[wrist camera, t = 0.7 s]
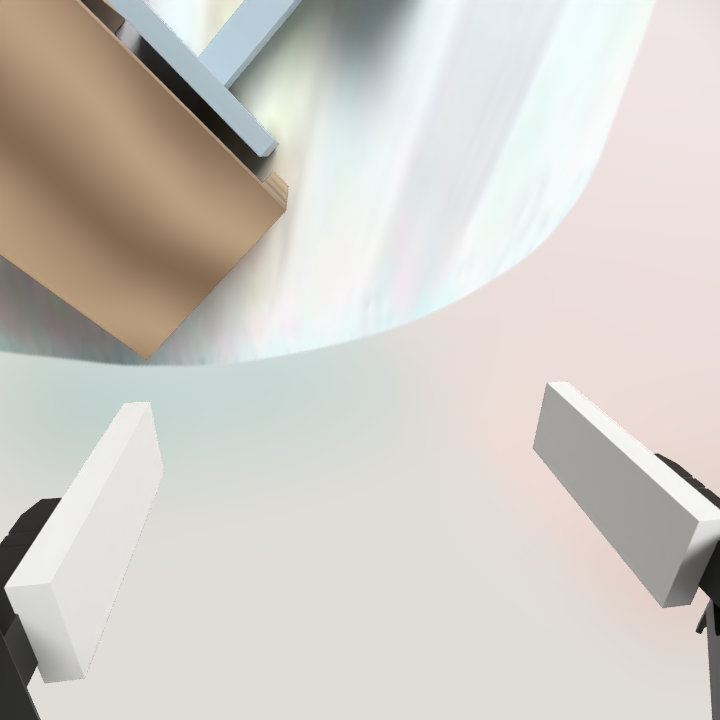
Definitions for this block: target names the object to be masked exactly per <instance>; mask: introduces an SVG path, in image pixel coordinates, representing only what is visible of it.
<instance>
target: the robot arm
mask: <svg viewBox="0 0 720 720" xmlns="http://www.w3.org/2000/svg"><path fill="white" fill-rule="evenodd" d="M533 449H534V450H535V451H536V453H537V454H538V455H539V456H540V458H541V459H542V460H543V461H544V463H545V464H546V465H547V466H548V468H549V469H550V470H551V471H552V473H553V474H554V475H555V476H556V477H557V479H558V480H559V481H560V482H561V484H562V485H563V486H564V487H565V488H566V490H567V491H568V492H569V493H570V495H571V496H572V497H573V498H574V500H575V501H576V502H577V503H578V505H579V506H580V507H581V508H582V510H583V511H584V512H585V513H586V514H587V516H588V517H589V518H590V519H591V521H592V522H593V523H594V524H595V525H596V527H597V528H598V529H599V531H600V532H601V533H602V534H603V535H604V537H605V538H606V539H607V540H608V542H609V543H610V544H611V545H612V547H613V548H614V549H615V550H616V551H617V553H618V554H619V555H620V556H621V558H622V559H623V560H624V561H625V562H626V564H627V565H628V566H629V567H630V569H631V570H632V571H633V572H634V574H635V575H636V576H637V577H638V579H639V580H640V581H641V582H642V584H643V585H644V586H645V587H646V589H647V590H648V591H649V592H650V593H651V595H652V596H653V597H654V598H655V600H656V601H657V602H658V603H659V605H660V606H661V607H662V608H666V607H675V606H682V605H690V604H691V602H692V600H693V598H694V595H695V594H696V592H697V589H698V587H700V588H701V589H702V590H703V591H704V592H705V593H706V594H707V595H708V596H709V597H710V598H711V599H710V601H709V603H708V605H707V607H706V609H705V611H704V613H703V615H702V617H701V619H700V621H699V623H698V626H697V629H696V632H697V633H700V634H701V633H702V631H703V629H704V628H705V627H707V634H708V635H707V636H708V652H709V670H710V687H711V703H712V720H720V498H719V497H718V496H716V495H715V494H714V493H713V492H712V491H710V490H709V489H705V486H704V485H703V484H702V483H700V482H699V481H698V480H697V479H693V477H692V475H690V474H689V473H688V472H687V471H686V470H684V469H683V468H682V467H681V466H680V465H678V464H677V463H675V462H673V461H671V460H669V459H667V458H666V457H663V456H662V455H660V454H653V453H652V452H651V451H649V450H648V449H647V448H646V447H645V446H643V445H642V444H641V443H640V442H639V441H637V440H636V439H635V438H634V437H633V436H631V435H630V434H629V433H628V432H627V431H626V430H624V429H623V428H622V427H621V426H620V425H618V424H617V423H616V422H615V421H613V420H612V419H611V418H610V417H609V416H608V415H606V414H605V413H604V412H603V411H602V410H601V409H599V408H598V407H597V406H595V404H593V403H592V402H591V401H590V400H589V399H587V398H586V397H585V396H584V395H583V394H582V393H580V392H579V391H578V390H577V389H576V388H574V387H573V386H572V385H571V384H570V383H568V382H548V383H547V384H546V388H545V393H544V398H543V403H542V407H541V412H540V417H539V422H538V426H537V431H536V436H535V440H534V445H533ZM163 475H164V470H163V465H162V460H161V454H160V449H159V444H158V439H157V433H156V428H155V423H154V418H153V413H152V407H151V402H150V401H149V402H128V403H124V404H123V405H122V407H121V408H120V410H119V411H118V413H117V415H116V416H115V418H114V419H113V421H112V422H111V424H110V425H109V427H108V429H107V430H106V431H105V433H104V435H103V436H102V438H101V439H100V441H99V442H98V444H97V445H96V447H95V448H94V450H93V452H92V453H91V454H90V456H89V458H88V459H87V461H86V462H85V464H84V465H83V467H82V468H81V470H80V472H79V473H78V474H77V476H76V478H75V479H74V481H73V482H72V484H71V485H70V487H69V488H68V490H67V491H66V493H65V494H64V496H63V498H53V499H42V500H40V501H39V502H37V503H36V504H35V505H34V506H32V507H31V508H30V509H28V510H27V511H26V512H25V513H23V514H22V515H21V516H20V518H19V519H18V520H17V522H16V523H15V525H14V526H13V527H12V529H11V530H10V531H9V535H8V536H6V537H5V538H4V540H3V541H2V542H1V544H0V720H41V719H40V717H39V715H38V713H37V710H36V708H35V706H34V703H33V701H32V699H31V696H30V694H29V692H28V690H27V685H28V683H29V681H30V679H31V677H32V675H33V673H34V671H35V669H36V667H37V666H38V669H39V671H40V674H41V676H42V678H43V681H44V683H52V682H60V681H67V680H76V679H85V677H86V674H87V672H88V669H89V667H90V664H91V662H92V659H93V656H94V654H95V651H96V648H97V646H98V643H99V641H100V638H101V636H102V633H103V630H104V628H105V625H106V622H107V620H108V618H109V615H110V612H111V610H112V607H113V605H114V602H115V599H116V597H117V594H118V591H119V589H120V586H121V584H122V581H123V579H124V576H125V573H126V571H127V568H128V566H129V563H130V560H131V558H132V555H133V552H134V550H135V547H136V545H137V542H138V540H139V537H140V535H141V532H142V529H143V527H144V524H145V522H146V519H147V516H148V514H149V511H150V509H151V506H152V503H153V500H154V498H155V496H156V493H157V490H158V488H159V485H160V482H161V480H162V478H163Z"/></svg>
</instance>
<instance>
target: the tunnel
mask: <svg viewBox="0 0 720 720" xmlns="http://www.w3.org/2000/svg"><path fill="white" fill-rule="evenodd" d="M124 21H125V18H124V17H123V16H122V15H121V14H120V13H119V12H118V11H117V10H116V9H115V8H114V7H113V6H112V5H111V4H110V3H109V2H108V1H107V0H0V255H2V256H3V257H4V258H6V259H7V260H8V261H10V262H11V263H13V264H14V265H15V266H17V267H18V268H20V269H21V270H22V271H24V272H25V273H27V274H28V275H29V276H31V277H32V278H33V279H35V280H36V281H38V282H39V283H40V284H42V285H43V286H45V287H46V288H47V289H49V290H50V291H51V292H53V293H54V294H56V295H57V296H58V297H60V298H61V299H63V300H64V301H65V302H67V303H68V304H70V305H71V306H72V307H74V308H75V309H76V310H78V311H79V312H81V313H82V314H83V315H85V316H86V317H88V318H89V319H90V320H92V321H93V322H95V323H96V324H97V325H99V326H100V327H101V328H103V329H104V330H106V331H107V332H108V333H110V334H111V335H113V336H114V337H115V338H117V339H118V340H119V341H121V342H122V343H124V344H125V345H126V346H128V347H129V348H131V349H132V350H133V351H135V352H136V353H138V354H139V355H140V356H142V357H143V358H144V359H146V360H147V359H148V358H149V357H150V356H151V355H152V354H153V353H154V352H155V351H156V350H157V349H158V347H159V346H160V345H161V344H162V343H163V342H164V341H165V340H166V339H167V338H168V337H169V336H170V335H171V334H172V332H173V331H174V330H175V329H176V328H177V327H178V326H179V325H180V324H181V323H182V322H183V321H184V320H185V318H186V317H187V316H188V315H189V314H190V313H191V312H192V311H193V310H194V309H195V308H196V307H197V306H198V305H199V303H200V302H201V301H202V300H203V299H204V298H205V297H206V296H207V295H208V294H209V293H210V292H211V291H212V289H213V288H214V287H215V286H216V285H217V284H218V283H219V282H220V281H221V280H222V279H223V278H224V277H225V276H226V274H227V273H228V272H229V271H230V270H231V269H232V268H233V267H234V266H235V265H236V264H237V263H238V262H239V261H240V259H241V258H242V257H243V256H244V255H245V254H246V253H247V252H248V251H249V250H250V249H251V248H252V247H253V245H254V244H255V243H256V242H257V241H258V240H259V239H260V238H261V237H262V236H263V235H264V234H265V233H266V232H267V230H268V229H269V228H270V227H271V226H272V225H273V224H274V223H275V222H276V221H277V220H278V219H279V218H280V216H281V215H282V214H283V213H284V212H285V211H286V207H287V197H288V187H289V186H288V185H287V184H286V183H285V182H284V181H283V180H282V179H281V178H280V177H279V176H278V175H277V174H276V173H275V172H273V173H272V174H271V175H270V176H269V177H268V178H267V179H266V180H265V181H264V182H263V183H262V182H261V181H260V180H259V179H258V178H257V177H256V176H255V175H254V174H253V173H252V172H251V171H250V170H249V169H248V168H247V167H246V166H245V165H244V164H243V163H242V162H241V161H240V160H239V159H238V158H237V157H236V156H235V155H234V154H233V153H232V152H231V151H230V150H229V149H228V148H227V147H226V146H225V145H224V144H223V143H222V142H221V141H220V140H219V139H218V138H217V137H216V136H215V135H214V134H213V133H212V132H211V131H210V130H209V129H208V128H207V127H206V126H205V125H204V124H203V123H202V122H201V121H200V120H199V119H198V118H197V117H196V116H195V115H194V114H193V113H192V112H191V111H190V110H189V109H188V108H187V107H186V106H185V105H184V104H183V103H182V102H181V101H180V100H179V99H178V98H177V97H176V96H175V95H174V94H173V93H172V92H171V91H170V90H169V89H168V88H167V87H166V86H165V85H164V84H163V83H162V82H161V81H160V80H159V79H158V78H157V77H156V76H155V75H154V74H153V73H152V72H151V71H150V70H149V69H148V68H147V67H146V66H145V65H144V64H143V63H142V62H141V61H140V60H139V59H138V58H137V57H136V56H135V55H134V54H133V53H132V52H131V51H130V50H129V49H128V48H127V47H126V46H125V45H124V44H123V43H122V42H121V41H120V40H119V39H118V38H117V37H116V36H115V35H114V34H115V32H116V31H117V30H118V28H119V27H120V26H121V24H122V23H123V22H124Z"/></svg>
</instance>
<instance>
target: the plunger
mask: <svg viewBox="0 0 720 720" xmlns="http://www.w3.org/2000/svg"><path fill="white" fill-rule="evenodd" d="M107 1H108V2H109V3H110V4H111V5H112V6H113V7H114V8H115V9H116V10H117V11H118V12H119V13H120V14H121V15H122V16H123V17H124V18H125V19H126V20H127V21H128V22H129V23H130V24H131V25H132V26H133V27H134V29H135V30H136V31H137V32H138V33H139V34H140V35H141V36H142V37H143V38H144V39H145V40H146V41H147V42H148V43H149V44H150V45H151V46H152V47H153V48H154V49H155V50H156V51H157V52H158V53H159V54H160V55H161V56H162V57H163V58H164V59H165V60H166V61H167V62H168V63H169V64H170V65H171V66H172V67H173V68H174V70H175V71H176V72H177V73H178V74H179V75H180V76H181V77H182V78H183V79H184V80H185V81H186V82H187V83H188V84H189V85H190V86H191V87H192V88H193V89H194V90H195V91H196V92H197V93H198V94H199V95H200V96H201V97H202V98H203V99H204V100H205V101H206V102H207V103H208V104H209V105H210V106H211V107H212V108H213V110H214V111H215V112H216V113H217V114H218V115H219V116H220V117H221V118H222V119H223V120H224V121H225V122H226V123H227V124H228V125H229V126H230V127H231V128H232V129H233V130H234V131H235V132H236V133H237V134H238V135H239V136H240V137H241V138H242V139H243V140H244V141H245V142H246V143H247V144H248V145H249V146H250V147H251V148H252V149H253V151H254V152H255V153H256V154H257V155H258V156H259V157H265V156H269V155H270V154H271V153H272V151H273V150H274V149H275V148H276V147H277V146H278V145H279V143H278V142H277V141H276V140H275V139H274V138H273V137H272V136H271V135H270V134H269V133H268V132H267V131H266V130H265V128H264V127H263V126H262V125H261V124H260V123H259V122H258V121H257V120H256V119H255V118H254V117H253V116H252V115H251V114H250V113H249V111H248V110H247V109H246V108H245V107H244V106H243V105H242V104H241V103H240V102H239V101H238V100H237V99H236V98H235V97H234V96H233V95H232V93H231V92H230V91H229V90H228V89H229V88H230V86H231V85H232V84H233V83H234V82H235V80H236V79H237V78H238V77H239V76H240V74H241V73H242V72H243V71H244V70H245V68H246V67H247V66H248V65H249V64H250V63H251V61H252V60H253V59H254V58H255V57H256V55H257V54H258V53H259V52H260V51H261V49H262V48H263V47H264V46H265V45H266V43H267V42H268V41H269V40H270V39H271V37H272V36H273V35H274V34H275V33H276V32H277V30H278V29H279V28H280V27H281V26H282V24H283V23H284V22H285V21H286V20H287V18H288V17H289V16H290V15H291V14H292V12H293V11H294V10H295V9H296V8H297V7H298V5H299V4H300V3H301V2H302V1H303V0H244V1H243V3H242V4H241V5H240V6H239V8H238V9H237V10H236V11H235V12H234V14H233V15H232V16H231V17H230V19H229V20H228V21H227V22H226V24H225V25H224V26H223V27H222V29H221V30H220V31H219V32H218V33H217V35H216V36H215V37H214V38H213V40H212V41H211V42H210V43H209V45H208V46H207V47H206V48H205V50H204V51H203V52H202V53H201V54H200V56H199V57H197V56H196V55H195V54H194V53H193V52H192V51H191V50H190V49H189V48H188V47H187V46H186V45H185V44H184V43H183V41H182V40H181V39H180V38H179V37H178V36H177V35H176V34H175V33H174V32H173V31H172V30H171V29H170V28H169V27H168V26H167V24H166V23H165V22H164V21H163V20H162V19H161V18H160V17H159V16H158V15H157V14H156V13H155V12H154V11H153V10H152V9H151V8H150V7H149V5H148V4H147V3H146V2H145V1H144V0H107Z"/></svg>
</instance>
